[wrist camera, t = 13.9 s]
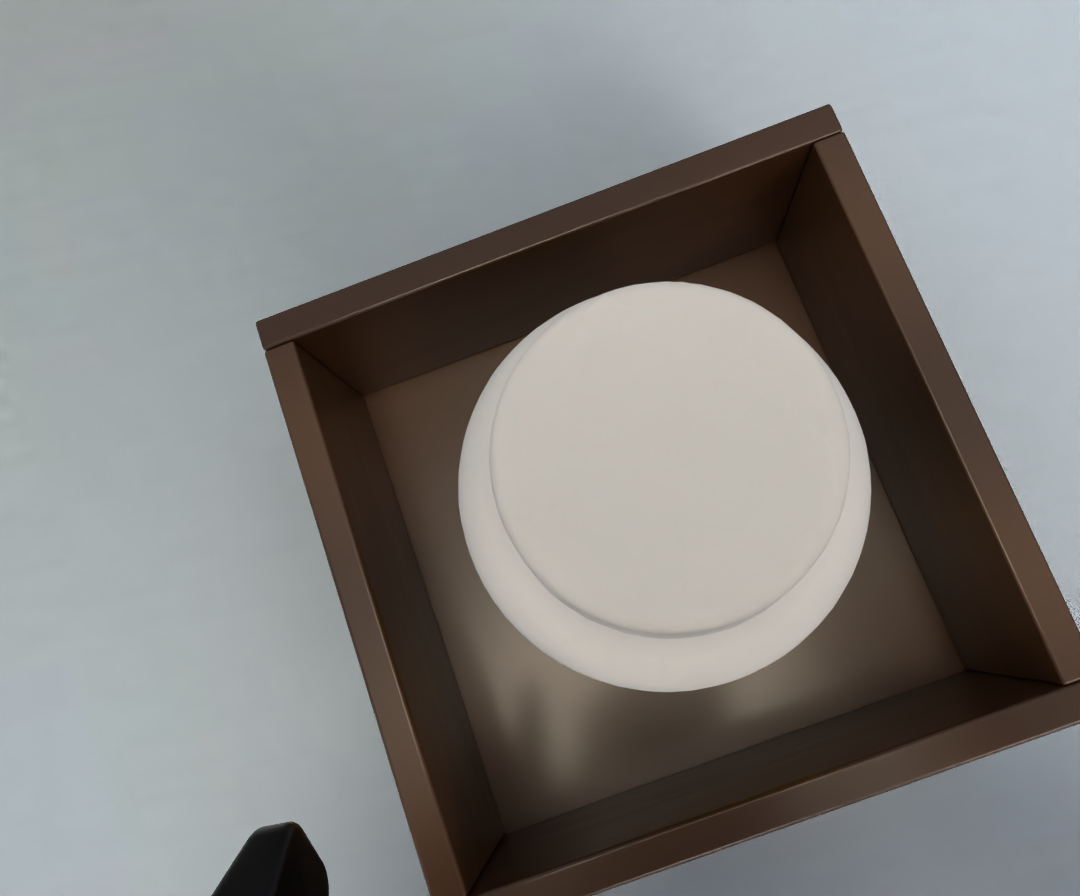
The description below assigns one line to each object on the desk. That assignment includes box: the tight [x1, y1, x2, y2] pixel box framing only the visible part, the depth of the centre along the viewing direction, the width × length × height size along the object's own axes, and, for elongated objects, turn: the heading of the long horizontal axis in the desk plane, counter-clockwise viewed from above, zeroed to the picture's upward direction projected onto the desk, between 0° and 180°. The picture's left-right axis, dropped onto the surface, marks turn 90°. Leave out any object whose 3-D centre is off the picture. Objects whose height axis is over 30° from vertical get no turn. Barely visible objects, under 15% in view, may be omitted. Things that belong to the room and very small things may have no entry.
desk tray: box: [256, 105, 1080, 896], centre depth 18 cm, size 11×11×5 cm
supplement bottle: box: [458, 281, 871, 692], centre depth 15 cm, size 6×6×10 cm
